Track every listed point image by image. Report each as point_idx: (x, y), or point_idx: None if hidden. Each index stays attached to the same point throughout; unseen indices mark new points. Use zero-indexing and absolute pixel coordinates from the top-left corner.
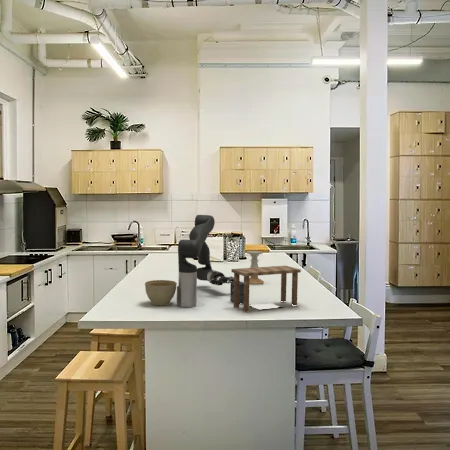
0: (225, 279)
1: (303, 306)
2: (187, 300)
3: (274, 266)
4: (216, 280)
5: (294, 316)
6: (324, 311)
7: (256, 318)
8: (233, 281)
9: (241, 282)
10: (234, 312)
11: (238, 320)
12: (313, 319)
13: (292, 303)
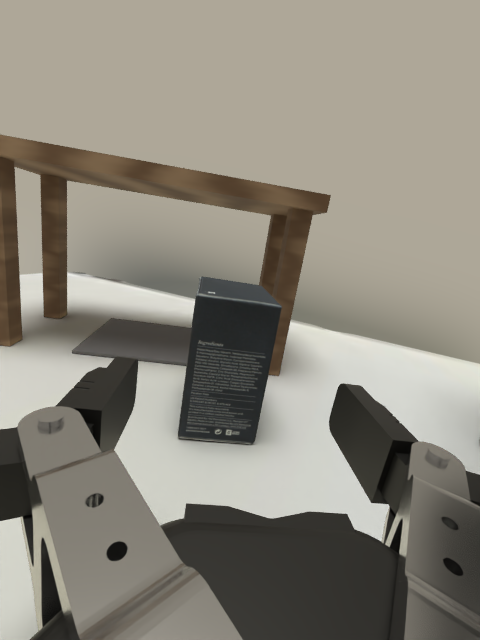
0: (213, 519)
1: (33, 308)
2: None
3: (46, 144)
4: (454, 467)
5: (165, 299)
6: None
7: None
8: (256, 300)
9: (217, 283)
10: (298, 347)
11: (306, 323)
12: (149, 288)
13: (62, 306)
